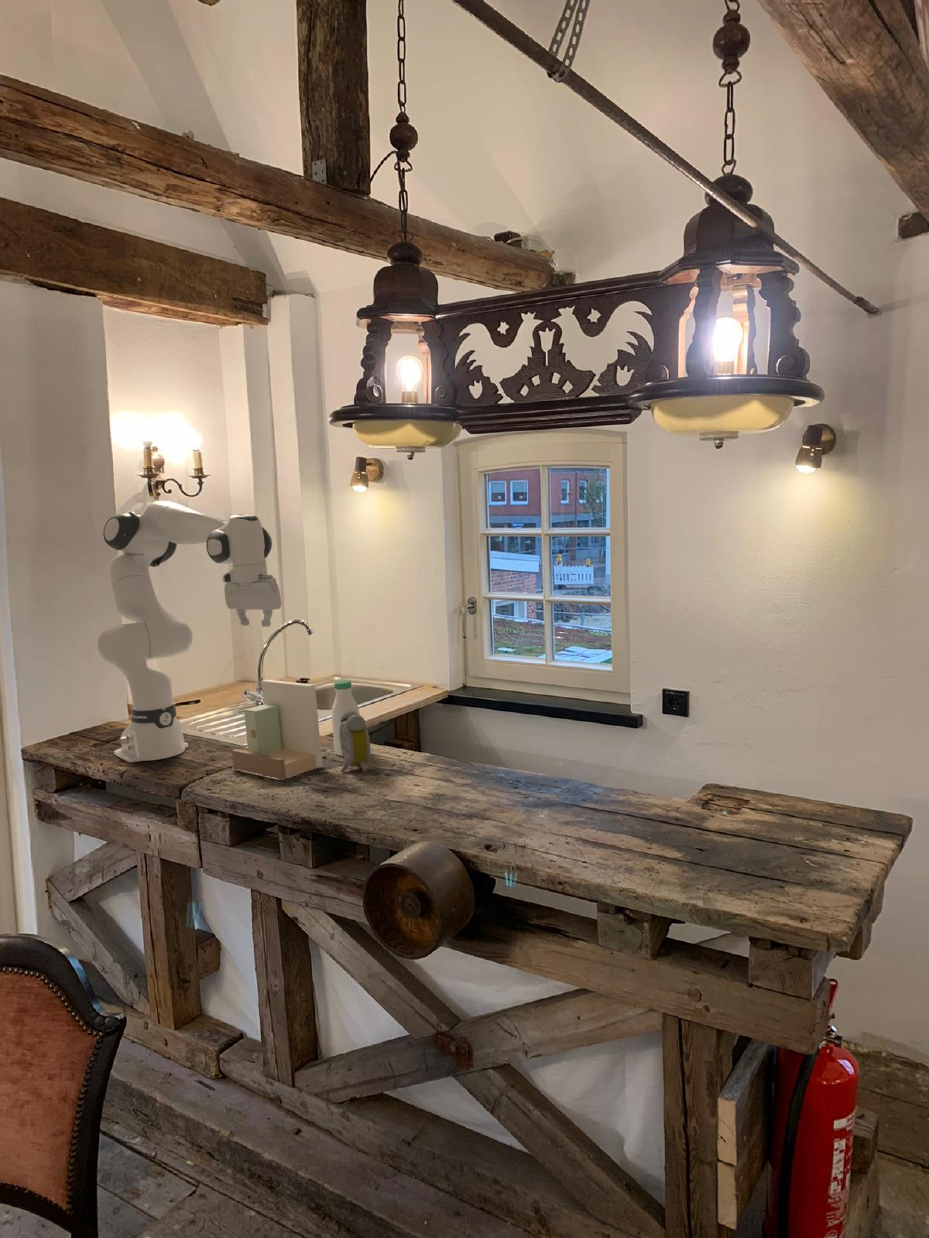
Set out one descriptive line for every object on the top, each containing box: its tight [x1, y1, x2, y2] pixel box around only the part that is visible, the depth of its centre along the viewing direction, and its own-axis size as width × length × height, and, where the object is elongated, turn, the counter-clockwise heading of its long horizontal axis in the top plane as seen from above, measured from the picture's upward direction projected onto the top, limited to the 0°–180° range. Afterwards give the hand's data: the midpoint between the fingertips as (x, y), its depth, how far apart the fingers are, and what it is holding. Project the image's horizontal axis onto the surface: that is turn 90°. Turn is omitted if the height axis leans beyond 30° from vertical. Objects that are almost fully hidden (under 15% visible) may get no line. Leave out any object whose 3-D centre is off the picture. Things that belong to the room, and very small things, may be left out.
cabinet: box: [243, 704, 282, 755], centre depth 230 cm, size 5×8×12 cm, turn 140°
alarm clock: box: [340, 710, 371, 774], centre depth 221 cm, size 12×7×15 cm, turn 22°
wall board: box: [231, 679, 323, 780], centre depth 227 cm, size 20×14×22 cm
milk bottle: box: [331, 680, 361, 757], centre depth 238 cm, size 8×8×20 cm
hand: (255, 626), depth 234 cm, fingers open, 8 cm apart
